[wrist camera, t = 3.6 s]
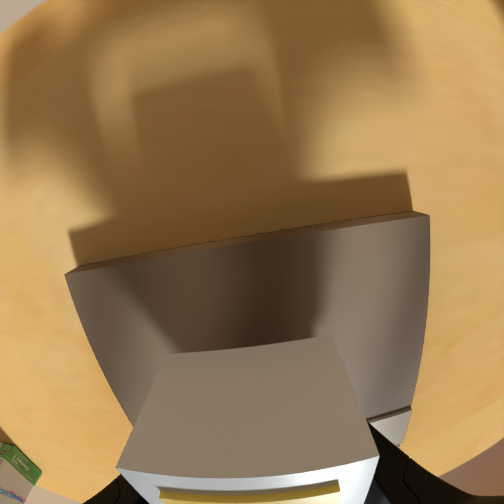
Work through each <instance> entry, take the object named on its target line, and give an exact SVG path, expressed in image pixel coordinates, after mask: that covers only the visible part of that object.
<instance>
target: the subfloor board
mask: <svg viewBox="0 0 504 504" xmlns="http://www.w3.org/2000/svg"><path fill="white" fill-rule="evenodd" d="M64 275H65V278H66V281H67V284H68V287H69V290H70V293H71V296H72V299H73V302H74V305H75V308H76V310H77V313H78V316H79V318H80V321H81V324H82V326H83V329H84V331H85V333H86V336H87V338H88V341H89V343H90V345H91V347H92V350H93V352H94V354H95V356H96V359H97V361H98V363H99V365H100V367H101V369H102V371H103V373H104V375H105V377H106V379H107V381H108V383H109V385H110V387H111V389H112V391H113V393H114V394H115V396H116V398H117V400H118V402H119V403H120V405H121V407H122V409H123V410H124V412H125V414H126V416H127V417H128V419H129V421H130V422H131V424H132V425H133V427H134V425H135V423H136V421H137V418H138V416H139V414H140V412H141V410H142V408H143V405H144V403H145V401H146V399H147V397H148V395H149V392H150V390H151V388H152V386H153V384H154V382H155V380H156V378H157V375H158V373H159V371H160V369H161V367H162V365H163V363H164V361H165V359H166V357H167V354H174V353H190V352H203V351H215V350H226V349H235V348H244V347H253V346H261V345H268V344H275V343H282V342H289V341H296V340H302V339H308V338H314V337H319V336H325V335H330V334H331V335H332V338H333V340H334V342H335V345H336V347H337V349H338V352H339V354H340V356H341V359H342V361H343V364H344V366H345V368H346V371H347V373H348V376H349V378H350V381H351V383H352V386H353V388H354V390H355V393H356V395H357V398H358V401H359V403H360V406H361V408H362V411H363V413H364V416H365V418H366V421H368V422H369V423H370V424H371V425H372V426H373V427H374V428H376V429H377V430H378V431H379V432H380V433H381V434H383V435H384V436H385V437H386V438H387V439H388V440H390V441H391V442H392V443H393V444H394V445H396V446H397V447H398V448H399V446H400V443H402V442H403V439H404V436H405V433H406V430H407V426H408V423H409V419H410V416H411V412H412V409H411V404H412V400H413V396H414V391H415V387H416V382H417V377H418V372H419V367H420V361H421V355H422V349H423V342H424V335H425V327H426V318H427V308H428V296H429V278H430V218H429V215H427V214H423V213H420V212H416V211H409V212H402V213H395V214H388V215H381V216H374V217H367V218H360V219H353V220H347V221H340V222H333V223H327V224H320V225H314V226H307V227H301V228H294V229H288V230H282V231H275V232H269V233H263V234H257V235H251V236H244V237H238V238H232V239H226V240H220V241H215V242H209V243H203V244H197V245H191V246H185V247H180V248H174V249H168V250H163V251H157V252H151V253H146V254H140V255H135V256H129V257H124V258H118V259H113V260H108V261H102V262H97V263H92V264H86V265H81V266H78V267H77V268H75V269H73V270H71V271H70V272H68V273H66V274H64Z"/></svg>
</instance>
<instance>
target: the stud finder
mask: <svg viewBox="0 0 504 504" xmlns="http://www.w3.org/2000/svg"><path fill="white" fill-rule="evenodd" d="M378 459H379V453H378V450H377V447H376V445H375V442H374V439H373V437H372V434H371V431H370V429H369V426H368V424H367V421H366V418H365V416H364V413H363V411H362V408H361V406H360V403H359V401H358V398H357V395H356V393H355V390H354V388H353V386H352V383H351V381H350V378H349V376H348V373H347V371H346V368H345V366H344V364H343V361H342V359H341V356H340V354H339V352H338V349H337V347H336V345H335V342H334V340H333V338H332V335H331V334H330V335H325V336H319V337H314V338H308V339H302V340H296V341H289V342H282V343H275V344H268V345H261V346H253V347H244V348H235V349H226V350H215V351H203V352H190V353H174V354H167V357H166V359H165V361H164V363H163V365H162V367H161V369H160V371H159V373H158V375H157V378H156V380H155V382H154V384H153V386H152V388H151V390H150V392H149V395H148V397H147V399H146V401H145V403H144V405H143V408H142V410H141V412H140V414H139V416H138V418H137V421H136V423H135V425H134V427H133V430H132V432H131V434H130V436H129V438H128V441H127V443H126V445H125V447H124V450H123V452H122V454H121V457H120V459H119V461H118V464H117V466H116V469H117V470H118V471H119V472H120V473H121V474H122V475H123V477H124V478H125V479H126V480H127V481H128V482H129V483H130V484H131V485H132V486H133V487H134V488H135V490H136V491H137V492H138V493H139V494H140V495H141V496H142V497H143V498H144V499H145V500H146V501H147V502H148V503H149V504H364V501H365V499H366V496H367V493H368V491H369V488H370V485H371V482H372V479H373V476H374V473H375V469H376V466H377V463H378Z"/></svg>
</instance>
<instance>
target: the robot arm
mask: <svg viewBox="0 0 504 504" xmlns="http://www.w3.org/2000/svg"><path fill="white" fill-rule="evenodd" d="M367 424H368V426H369V429H370V431H371V434H372V437H373V439H374V442H375V445H376V447H377V450H378V453H379V459H378V463H377V466H376V469H375V473H374V476H373V479H372V482H371V485H370V488H369V491H368V493H367V496H366V499H365V501H364V504H504V496H477V495H472V494H469V493H466V492H464V491H462V490H460V489H458V488H456V487H455V486H453V485H451V484H449V483H447V482H445V481H444V480H442V479H440V478H438V477H437V476H435V475H433V474H432V473H430V472H428V471H427V470H426V469H424V468H423V467H422V466H420V465H419V464H418V463H416V462H415V461H414V460H413V459H411V458H409V456H408V455H406V454H405V453H404V452H403V451H402V450H400V449H399V448H398V447H397V446H396V445H394V444H393V443H392V442H391V441H390V440H388V439H387V438H386V437H385V436H384V435H383V434H381V433H380V432H379V431H378V430H377V429H376V428H374V427H373V426H372V425H371V424H370V423H369V422H368V421H367ZM83 504H149V503H148V502H147V501H146V500H145V499H144V498H143V497H142V496H141V495H140V494H139V493H138V492H137V491H136V490H135V488H134V487H133V486H132V485H131V484H130V483H129V482H128V481H127V480H126V479H125V478H124V477H123V475H122V474H120V475H119V476H118V477H117V478H116V479H114V480H113V481H112V482H111V483H110V484H109V485H107V486H106V487H105V488H104V489H103V490H101V491H100V492H99V493H97V494H96V495H95V496H93V497H92V498H90V499H89V500H87V501H86V502H84V503H83Z"/></svg>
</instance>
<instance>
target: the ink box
mask: <svg viewBox="0 0 504 504" xmlns="http://www.w3.org/2000/svg"><path fill="white" fill-rule="evenodd" d="M41 474H42V471H41V470H40V469H38V468H37V467H36V466H35V465H34V464H33V463H32V462H31V461H30V460H29V459H28V458H27V457H26V456H25V455H24V454H23V453H22V452H21V451H20V450H19V449H18V448H17V447H16V446H14V445H10V444H6V443H2V442H0V504H25V503H26V501H27V499H28V497H29V495H30V493H31V492H32V490H33V488H34V486H35V485H36V483H37V481H38V480H39V478H40V476H41Z"/></svg>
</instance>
